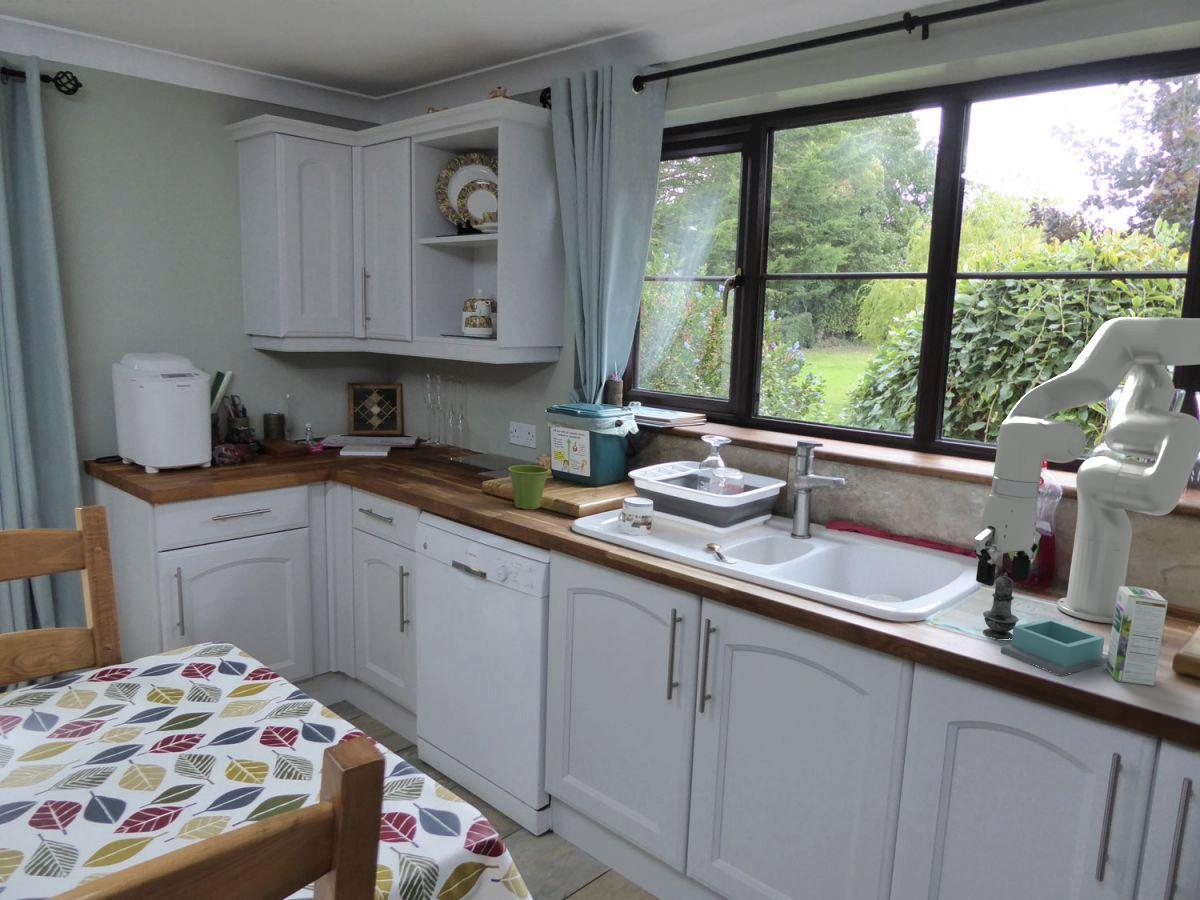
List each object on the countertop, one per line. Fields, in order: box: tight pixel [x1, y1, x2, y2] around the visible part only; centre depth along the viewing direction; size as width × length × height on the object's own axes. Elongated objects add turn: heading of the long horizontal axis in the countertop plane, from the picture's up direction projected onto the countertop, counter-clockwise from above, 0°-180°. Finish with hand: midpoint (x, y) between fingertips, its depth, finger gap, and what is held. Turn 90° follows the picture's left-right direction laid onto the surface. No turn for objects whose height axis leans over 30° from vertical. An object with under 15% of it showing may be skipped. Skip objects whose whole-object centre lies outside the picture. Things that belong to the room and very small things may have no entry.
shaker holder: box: [1000, 618, 1108, 677], centre depth 144 cm, size 14×11×4 cm
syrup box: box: [1105, 586, 1169, 687], centre depth 136 cm, size 6×6×14 cm
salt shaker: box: [982, 571, 1019, 640], centre depth 153 cm, size 6×6×12 cm
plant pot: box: [507, 464, 551, 511], centre depth 240 cm, size 12×12×11 cm
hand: (1002, 581), depth 152 cm, fingers open, 9 cm apart
